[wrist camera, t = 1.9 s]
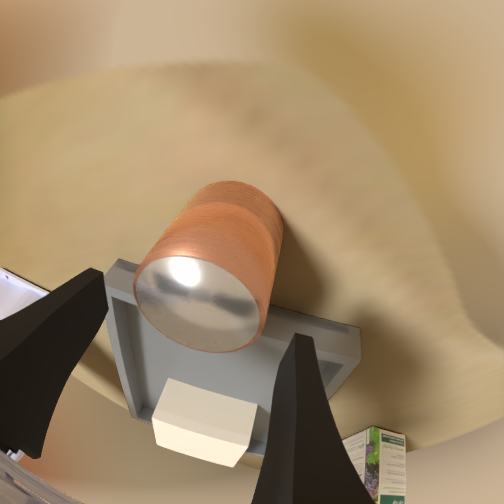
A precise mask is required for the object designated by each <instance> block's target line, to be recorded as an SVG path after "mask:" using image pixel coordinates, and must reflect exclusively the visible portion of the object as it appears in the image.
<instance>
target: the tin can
mask: <svg viewBox="0 0 504 504" xmlns="http://www.w3.org/2000/svg"><path fill="white" fill-rule="evenodd" d="M282 239H283V222H282V218H281V216H280V213H279V211H278V209H277V207H276V206H275V205H274V203H273V202H272V201H271V200H270V199H269V198H268V197H267V196H266V195H265V194H264V193H263V192H261V191H260V190H258V189H256V188H255V187H252V186H250V185H248V184H245V183H241V182H236V181H221V182H216V183H213V184H210V185H208V186H206V187H204V188H203V189H201V190H200V191H199V192H198V193H196V194H195V196H194V197H193V198H192V199H191V200H190V202H189V203H188V204H187V205H186V206H185V208H184V209H183V210H182V211H181V213H180V214H179V215H178V216H177V218H176V219H175V220H174V221H173V223H172V224H171V225H170V226H169V228H168V229H167V230H166V231H165V233H164V234H163V235H162V236H161V238H160V239H159V240H158V242H157V243H156V244H155V246H154V247H153V248H152V249H151V251H150V252H149V253H148V255H147V256H146V257H145V259H144V260H143V261H142V263H141V264H140V265H139V267H138V268H137V270H136V272H135V275H134V279H133V292H134V297H135V300H136V302H137V305H138V307H139V309H140V310H141V312H142V314H143V315H144V316H145V318H146V319H147V320H148V321H149V322H150V323H151V324H152V325H153V326H154V327H155V328H156V329H157V330H158V331H159V332H161V333H162V334H163V335H165V336H166V337H168V338H169V339H171V340H173V341H175V342H176V343H179V344H181V345H183V346H186V347H188V348H191V349H195V350H198V351H203V352H210V353H228V352H234V351H238V350H241V349H243V348H245V347H248V346H249V345H251V344H252V343H253V342H254V341H256V340H257V339H258V337H259V336H260V335H261V333H262V331H263V329H264V325H265V321H266V316H267V311H268V307H269V302H270V297H271V293H272V288H273V283H274V278H275V273H276V269H277V264H278V259H279V254H280V249H281V244H282Z"/></svg>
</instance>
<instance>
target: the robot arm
mask: <svg viewBox="0 0 504 504" xmlns="http://www.w3.org/2000/svg"><path fill="white" fill-rule="evenodd" d="M108 310H109V307H108V301H107V295H106V289H105V282H104V275H103V272H101V271H98V270H95V269H93V268H89V269H87V270H85V271H83V272H82V273H80V274H79V275H77V276H75V277H74V278H72V279H71V280H69V281H68V282H66V283H64V284H63V285H61V286H60V287H58V288H56V289H55V290H53V291H52V292H48V291H46V290H44V289H42V288H39V287H37V286H35V285H33V284H31V283H29V282H27V281H25V280H24V279H22V278H20V277H18V276H16V275H14V274H12V273H10V272H8V271H6V270H5V269H3V268H1V269H0V504H47V503H46V502H45V501H43V500H42V499H41V498H40V497H42V498H43V499H45V500H46V501H48V502H49V503H51V504H83V503H81V502H79V501H78V500H76V499H74V498H72V497H70V496H68V495H67V494H65V493H63V492H61V491H60V490H58V489H56V488H55V487H53V486H51V485H50V484H48V483H47V482H45V481H43V480H42V479H40V478H39V477H37V476H36V475H34V474H33V473H31V472H30V471H28V470H27V469H25V468H24V467H23V466H21V465H20V464H18V463H17V461H18V460H20V459H21V458H22V457H23V455H24V454H26V455H28V456H29V457H31V458H32V459H38V458H40V457H41V452H42V448H43V444H44V440H45V436H46V433H47V429H48V426H49V423H50V420H51V417H52V415H53V412H54V409H55V407H56V404H57V402H58V399H59V397H60V395H61V392H62V390H63V388H64V386H65V384H66V381H67V380H68V378H69V376H70V374H71V372H72V371H73V369H74V368H75V366H76V365H77V363H78V361H79V360H80V358H81V357H82V355H83V354H84V352H85V351H86V349H87V348H88V346H89V345H90V343H91V341H92V340H93V338H94V337H95V335H96V334H97V332H98V330H99V328H100V327H101V325H102V323H103V321H104V319H105V316H106V314H107V312H108ZM13 478H14V479H15V480H17V481H19V482H20V483H21V484H22V485H24V486H25V487H27V488H28V489H30V490H31V491H33V492H34V493H35V494H37V495H38V496H40V497H38V496H37V495H35V494H34V493H32V492H31V491H29V490H27V489H25V488H23V487H22V486H20V485H18V484H16V483H14V479H13ZM251 504H376V503H375V502H374V500H373V499H372V497H371V495H370V494H369V492H368V491H367V489H366V487H365V486H364V484H363V482H362V480H361V478H360V477H359V475H358V473H357V471H356V469H355V467H354V465H353V463H352V462H351V460H350V457H349V455H348V453H347V451H346V449H345V446H344V444H343V442H342V439H341V437H340V434H339V432H338V429H337V427H336V424H335V421H334V418H333V415H332V412H331V409H330V406H329V403H328V400H327V396H326V392H325V389H324V385H323V382H322V377H321V373H320V369H319V365H318V360H317V355H316V350H315V344H314V339H313V337H311V336H307V335H303V334H299V333H296V332H295V334H294V336H293V338H292V340H291V342H290V344H289V346H288V348H287V350H286V352H285V354H284V356H283V358H282V360H281V362H280V364H279V367H278V371H277V376H276V380H275V384H274V389H273V396H272V405H271V413H270V421H269V429H268V437H267V444H266V450H265V455H264V459H263V463H262V467H261V471H260V475H259V479H258V482H257V486H256V489H255V493H254V496H253V500H252V503H251Z"/></svg>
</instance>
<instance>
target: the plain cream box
mask: <svg viewBox="0 0 504 504" xmlns="http://www.w3.org/2000/svg"><path fill="white" fill-rule="evenodd" d="M257 405H258V404H255V403H251V402H247V401H243V400H239V399H235V398H232V397H228V396H224V395H221V394H217V393H214V392H211V391H207V390H204V389H201V388H198V387H194V386H191V385H188V384H185V383H182V382H179V381H176V380H173V379H171V378H168V380H167V382H166V384H165V387H164V389H163V392H162V394H161V396H160V399H159V401H158V403H157V406H156V408H155V411H154V413H153V415H152V422H153V428H154V433H155V437H156V442H157V445H160V446H162V447H165V448H168V449H171V450H174V451H177V452H180V453H183V454H186V455H189V456H193V457H196V458H200V459H203V460H206V461H210V462H214V463H217V464H221V465H225V466H229V467H234V465H235V464H236V463H237V461H238V460H239V459H240V457H241V456H242V455H243V453H244V452H245V451H246V449H247V448H248V446H249V442H250V437H251V433H252V428H253V424H254V419H255V414H256V410H257Z"/></svg>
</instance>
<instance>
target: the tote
mask: <svg viewBox="0 0 504 504" xmlns="http://www.w3.org/2000/svg"><path fill="white" fill-rule="evenodd" d="M138 267H139V265H136V264H133V263H130V262H127V261H124V260H121V259H118V260H117V261H116V262H115V263H114V265H113V266H112V267H111V268H110V270H109V271H108V272H107V273H106V274H105V276H104V282H105V289H106V295H107V301H108V307H109V310H108V312H107V314H106V316H105V319H106V324H107V328H108V333H109V337H110V342H111V346H112V350H113V354H114V358H115V362H116V366H117V370H118V374H119V377H120V381H121V384H122V388H123V391H124V395H125V398H126V401H127V404H128V408H129V411H130V413H131V416H132V418H135V419H137V420H140V421H142V422H145V423H147V424H150V425H152V426H153V422H152V415H153V413H154V411H155V408H156V406H157V403H158V401H159V399H160V396H161V394H162V392H163V389H164V387H165V384H166V382H167V380H168V378H171V379H173V380H176V381H179V382H182V383H185V384H188V385H191V386H194V387H198V388H201V389H204V390H207V391H211V392H214V393H217V394H221V395H224V396H228V397H232V398H235V399H239V400H243V401H247V402H251V403H255V404H258V405H257V410H256V414H255V419H254V424H253V428H252V433H251V437H250V442H249V446H248V448H247V449H246V451H245V452H244V453H245V454H250V455H254V456H259V457H264V455H265V450H266V444H267V437H268V429H269V421H270V413H271V405H272V396H273V389H274V384H275V380H276V376H277V371H278V367H279V364H280V362H281V360H282V358H283V356H284V354H285V352H286V350H287V348H288V346H289V344H290V342H291V340H292V338H293V336H294V334H295V332H296V333H299V334H303V335H307V336H311V337H313V339H314V344H315V350H316V355H317V360H318V365H319V369H320V373H321V377H322V382H323V385H324V389H325V392H326V396H327V400H328V399H329V398H330V397H331V396H332V395H333V394H334V393H335V391H336V390H337V389H338V388H339V387H340V386H341V384H342V383H343V382H344V381H345V380H346V378H347V377H348V376H349V375H350V374H351V372H352V371H353V370H354V369H355V367H356V366H357V365H358V364H359V362H360V361H361V360H362V354H361V338H360V328H357V327H353V326H349V325H345V324H341V323H337V322H333V321H329V320H325V319H321V318H317V317H313V316H310V315H306V314H302V313H298V312H294V311H291V310H287V309H283V308H279V307H276V306H272V305H269V307H268V311H267V316H266V321H265V325H264V329H263V331H262V333H261V335H260V336H259V337H258V339H257V340H256V341H254V342H253V343H252V344H251V345H249V346H248V347H245V348H243V349H241V350H238V351H234V352H228V353H210V352H203V351H198V350H195V349H191V348H188V347H186V346H183V345H181V344H179V343H176V342H175V341H173V340H171V339H169V338H168V337H166V336H165V335H163V334H162V333H161V332H159V331H158V330H157V329H156V328H155V327H154V326H153V325H152V324H151V323H150V322H149V321H148V320H147V319H146V318H145V316H144V315H143V314H142V312H141V310H140V309H139V307H138V305H137V302H136V300H135V297H134V292H133V279H134V275H135V272H136V270H137V268H138Z"/></svg>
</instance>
